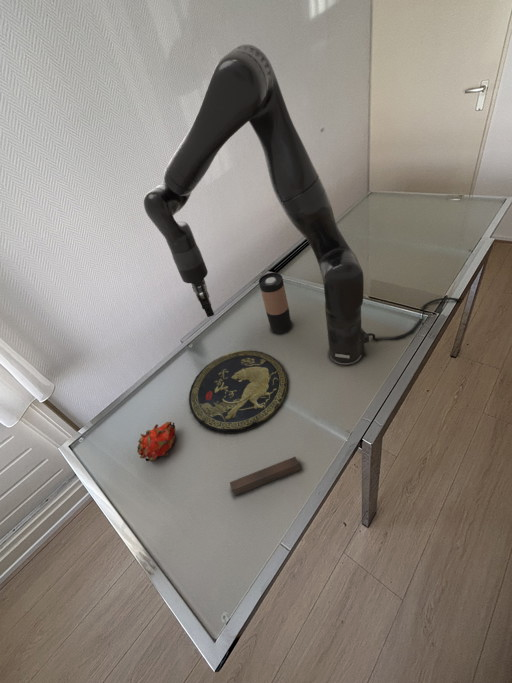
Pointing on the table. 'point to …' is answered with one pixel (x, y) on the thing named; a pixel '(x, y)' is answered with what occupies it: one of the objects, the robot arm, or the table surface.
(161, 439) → the dragon fruit
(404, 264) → the table surface
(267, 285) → the travel mug
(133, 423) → the table surface
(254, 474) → the rail
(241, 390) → the decorative plate
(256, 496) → the table surface
